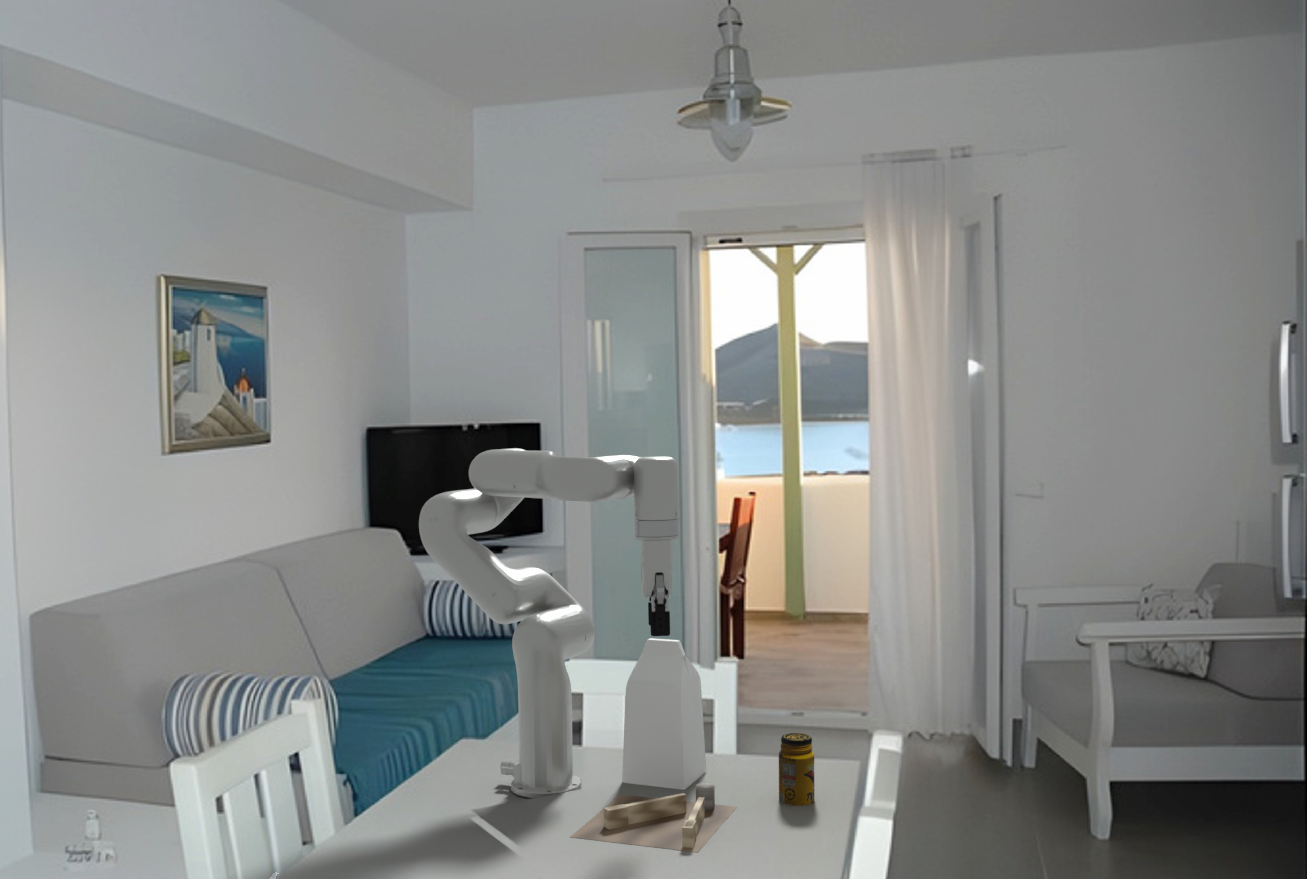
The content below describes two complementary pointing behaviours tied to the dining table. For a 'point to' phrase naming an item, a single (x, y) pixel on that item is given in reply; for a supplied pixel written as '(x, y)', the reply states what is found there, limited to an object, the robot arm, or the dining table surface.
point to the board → (655, 827)
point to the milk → (663, 719)
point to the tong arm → (644, 810)
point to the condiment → (796, 770)
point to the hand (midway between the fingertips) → (659, 630)
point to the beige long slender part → (698, 813)
